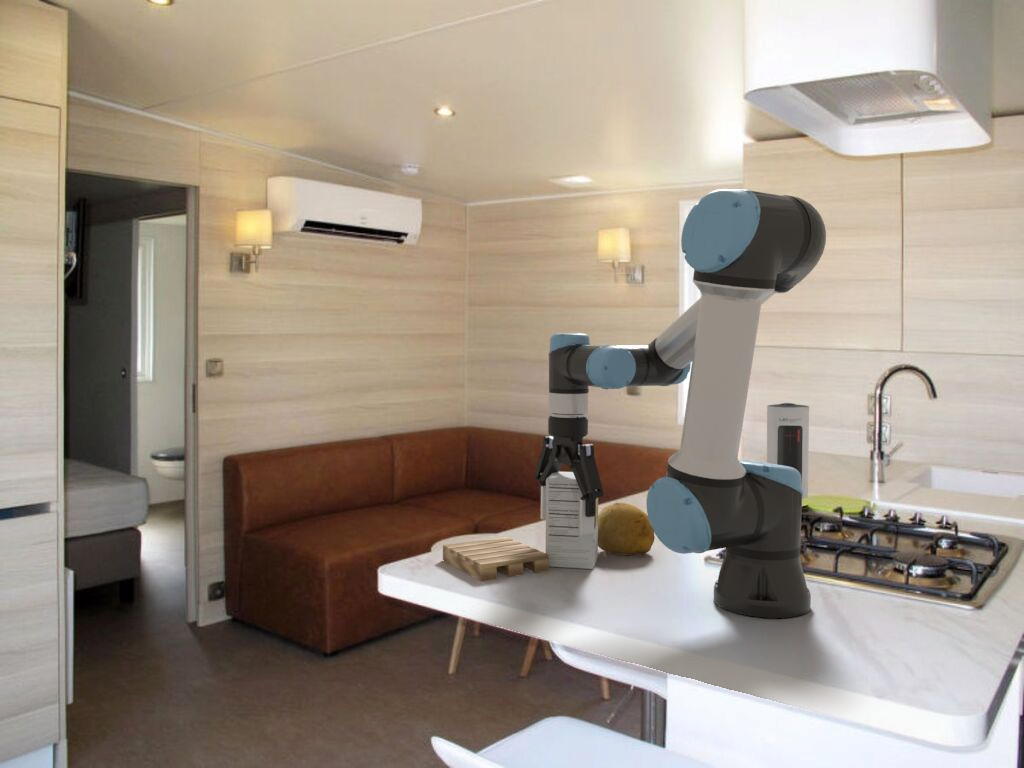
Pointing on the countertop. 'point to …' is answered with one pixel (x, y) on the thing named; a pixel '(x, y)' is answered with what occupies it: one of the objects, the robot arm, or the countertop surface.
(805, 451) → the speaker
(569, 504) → the supplement box
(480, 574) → the wooden pallet
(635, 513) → the potato
